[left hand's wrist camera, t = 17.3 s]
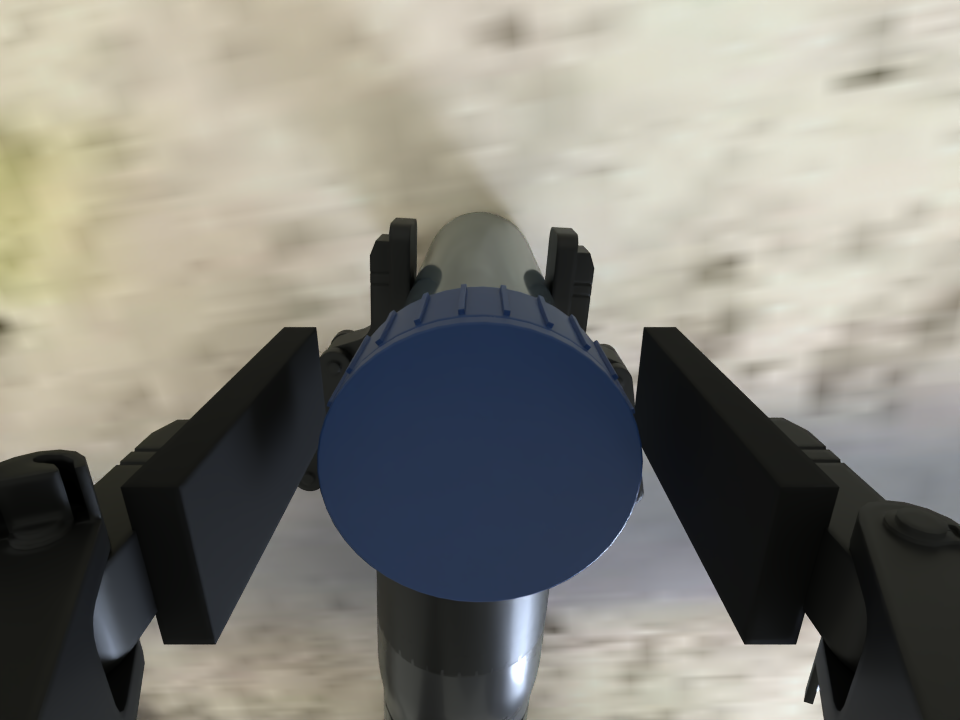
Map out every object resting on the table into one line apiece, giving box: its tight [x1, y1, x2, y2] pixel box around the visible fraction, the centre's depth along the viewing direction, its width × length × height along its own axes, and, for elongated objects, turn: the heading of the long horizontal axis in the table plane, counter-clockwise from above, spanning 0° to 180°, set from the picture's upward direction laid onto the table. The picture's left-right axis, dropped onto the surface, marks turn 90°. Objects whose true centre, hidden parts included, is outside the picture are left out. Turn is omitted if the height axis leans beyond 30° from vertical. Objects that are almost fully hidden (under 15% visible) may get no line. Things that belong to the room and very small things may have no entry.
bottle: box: [402, 212, 557, 309], centre depth 18 cm, size 5×5×17 cm
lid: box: [317, 284, 643, 602], centre depth 11 cm, size 6×6×2 cm
